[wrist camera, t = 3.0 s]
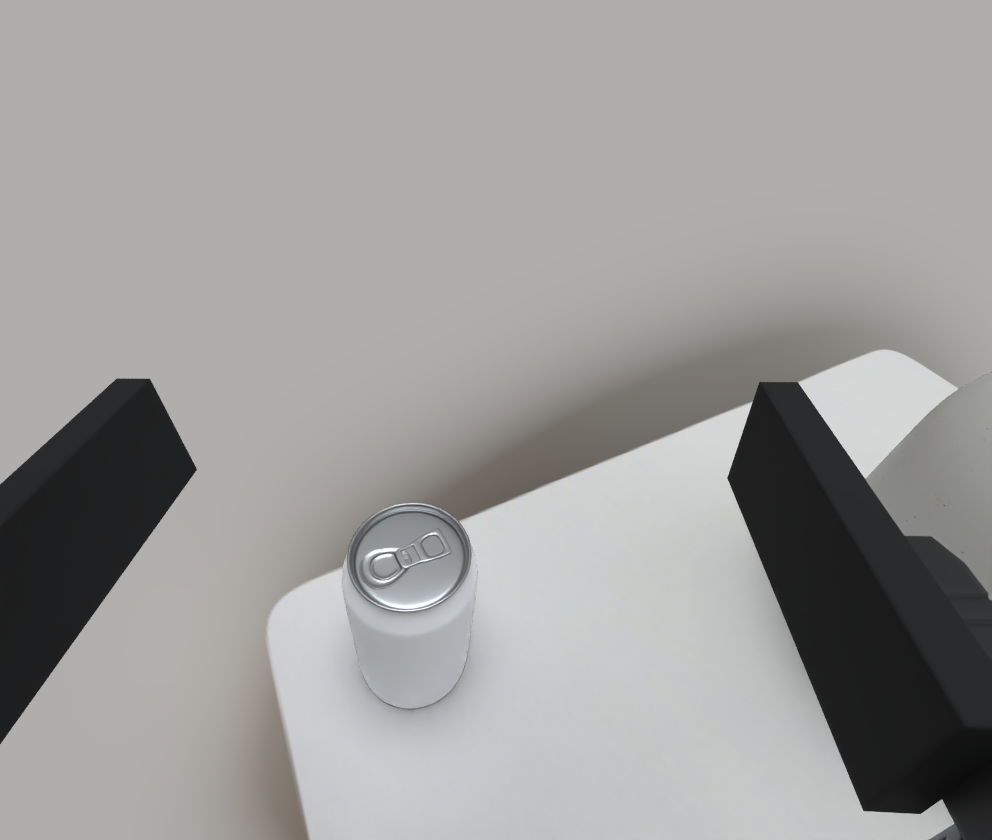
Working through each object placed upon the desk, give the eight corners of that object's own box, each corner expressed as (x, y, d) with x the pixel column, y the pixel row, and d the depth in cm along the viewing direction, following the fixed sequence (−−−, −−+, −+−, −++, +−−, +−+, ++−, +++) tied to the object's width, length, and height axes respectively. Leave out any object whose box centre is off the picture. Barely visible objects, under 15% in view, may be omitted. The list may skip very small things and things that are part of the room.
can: (345, 631, 33) (317, 524, 25) (439, 587, 36) (443, 477, 27) (384, 734, 30) (367, 649, 21) (485, 676, 32) (507, 581, 24)
